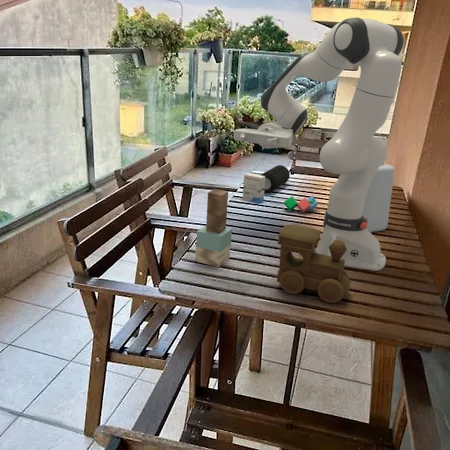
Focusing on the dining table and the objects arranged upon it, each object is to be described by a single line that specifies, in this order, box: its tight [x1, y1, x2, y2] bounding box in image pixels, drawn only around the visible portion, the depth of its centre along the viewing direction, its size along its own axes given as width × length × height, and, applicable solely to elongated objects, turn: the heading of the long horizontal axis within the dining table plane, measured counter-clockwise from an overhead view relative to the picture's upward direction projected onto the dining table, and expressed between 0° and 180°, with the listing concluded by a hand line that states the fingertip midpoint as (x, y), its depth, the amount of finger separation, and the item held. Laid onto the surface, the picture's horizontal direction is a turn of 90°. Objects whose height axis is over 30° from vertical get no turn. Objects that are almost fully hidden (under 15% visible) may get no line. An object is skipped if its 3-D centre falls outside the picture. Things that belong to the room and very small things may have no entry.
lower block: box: [194, 243, 232, 268], centre depth 138 cm, size 8×8×5 cm
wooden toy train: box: [276, 223, 352, 304], centre depth 121 cm, size 20×11×17 cm, turn 69°
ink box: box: [242, 172, 265, 204], centre depth 197 cm, size 9×5×12 cm, turn 58°
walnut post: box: [205, 188, 229, 234], centre depth 133 cm, size 4×4×12 cm
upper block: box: [195, 225, 233, 252], centre depth 136 cm, size 8×8×5 cm
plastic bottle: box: [362, 162, 395, 233], centre depth 172 cm, size 15×15×28 cm
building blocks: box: [283, 195, 319, 214], centre depth 189 cm, size 8×8×12 cm
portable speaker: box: [260, 164, 290, 194], centre depth 219 cm, size 26×10×10 cm, turn 155°
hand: (254, 140), depth 147 cm, fingers open, 8 cm apart
